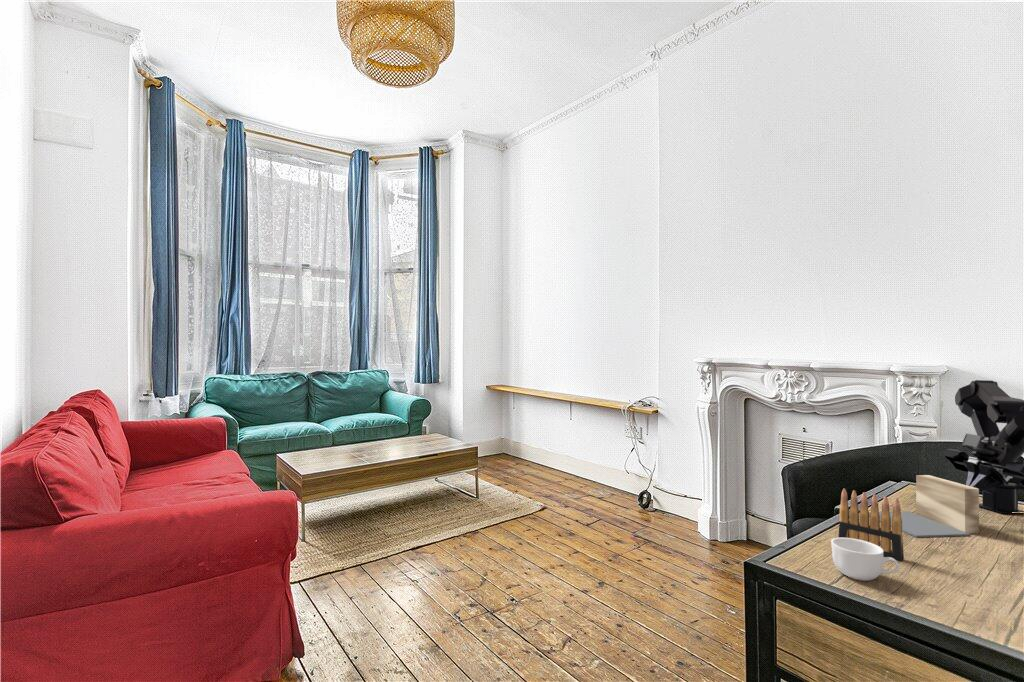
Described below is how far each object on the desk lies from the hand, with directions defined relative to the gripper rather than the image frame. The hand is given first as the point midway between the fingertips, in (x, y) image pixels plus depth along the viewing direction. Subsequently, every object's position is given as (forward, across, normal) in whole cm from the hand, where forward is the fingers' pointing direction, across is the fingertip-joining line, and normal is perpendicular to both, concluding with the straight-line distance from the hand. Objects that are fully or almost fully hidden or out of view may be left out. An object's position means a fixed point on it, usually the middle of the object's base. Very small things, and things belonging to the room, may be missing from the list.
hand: (967, 493), depth 117 cm
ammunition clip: (+32, +14, -21) cm, 41 cm away
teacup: (+39, +24, -28) cm, 54 cm away
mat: (+15, 0, -5) cm, 16 cm away
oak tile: (+9, 0, +1) cm, 9 cm away
